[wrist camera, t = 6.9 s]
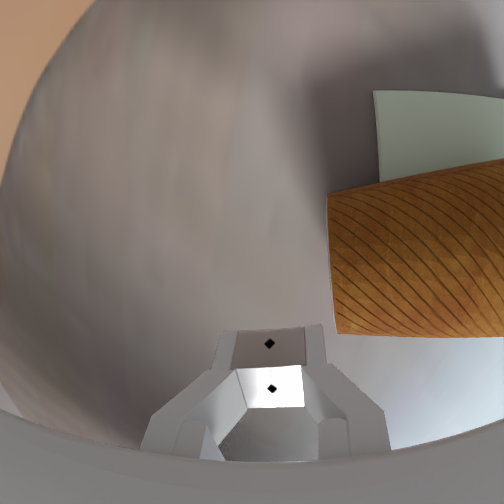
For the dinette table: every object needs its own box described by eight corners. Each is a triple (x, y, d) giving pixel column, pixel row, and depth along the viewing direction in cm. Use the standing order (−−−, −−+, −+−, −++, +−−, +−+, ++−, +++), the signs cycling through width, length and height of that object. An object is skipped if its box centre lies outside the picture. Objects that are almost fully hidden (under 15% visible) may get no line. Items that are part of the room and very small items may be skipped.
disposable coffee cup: (342, 334, 19) (513, 314, 15) (329, 412, 10) (595, 361, 6) (330, 178, 19) (504, 167, 15) (307, 125, 10) (586, 124, 6)
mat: (543, 286, 17) (547, 289, 17) (375, 317, 20) (377, 322, 19) (568, 112, 11) (573, 114, 11) (372, 90, 14) (375, 90, 13)
